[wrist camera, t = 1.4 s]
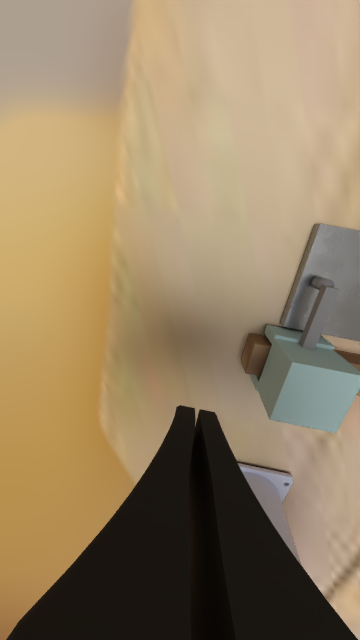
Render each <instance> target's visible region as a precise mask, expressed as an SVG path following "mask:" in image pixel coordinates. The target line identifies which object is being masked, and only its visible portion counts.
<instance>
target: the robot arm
mask: <svg viewBox="0 0 360 640" xmlns="http://www.w3.org/2000/svg"><path fill="white" fill-rule="evenodd" d="M292 483H293V478H292V475H291V474H288V473H283V472H278V471H274V470H269V469H264V468H259V467H254V466H249V465H245V464H240V463H237V461H236V459H235V457H234V455H233V453H232V451H231V448H230V446H229V444H228V442H227V440H226V437H225V435H224V433H223V431H222V428H221V426H220V423H219V421H218V418H217V415H216V414H215V412H211V411H206V410H201V409H200V410H199V414H198V418H197V422H196V426H195V408H191V407H186V406H181V405H180V406H178V407H177V408H176V413H175V417H174V419H173V422H172V424H171V427H170V429H169V431H168V433H167V435H166V437H165V439H164V441H163V443H162V445H161V447H160V448H159V450H158V452H157V453H156V455H155V457H154V458H153V460H152V462H151V463H150V465H149V467H148V468H147V470H146V471H145V473H144V474H143V476H142V477H141V479H140V480H139V482H138V483H137V485H136V486H135V487H134V489H133V490H132V492H131V493H130V494H129V496H128V497H127V498H126V500H125V501H124V502H123V504H122V505H121V506H120V508H119V509H118V510H117V512H116V513H115V514H114V515H113V517H112V518H111V519H110V521H109V522H108V523H107V524H106V525H105V527H104V528H103V529H102V530H101V531H100V533H99V534H98V535H97V536H96V537H95V538H94V540H93V541H92V542H91V543H90V544H89V545H88V547H87V548H86V549H85V550H84V551H83V552H82V554H81V555H80V556H79V557H78V558H77V559H76V561H75V562H74V563H73V564H72V565H71V566H70V568H68V570H67V571H66V572H65V573H64V574H63V575H62V576H61V577H60V578H59V579H58V580H57V582H55V583H54V585H53V586H52V587H51V588H50V589H49V590H48V591H47V592H46V593H45V594H44V595H43V596H42V597H41V599H39V600H38V602H37V603H36V604H35V605H34V606H33V607H32V608H31V609H30V610H29V611H28V612H27V613H26V614H25V615H24V616H23V618H22V619H21V620H20V621H19V622H18V623H17V625H16V627H15V628H14V629H13V631H12V632H11V634H10V635H9V637H8V638H7V639H6V640H358V639H357V638H356V637H355V635H354V634H353V633H352V632H351V630H350V629H349V628H348V627H347V625H346V624H345V623H344V622H343V620H342V619H341V618H340V616H339V615H338V614H337V613H336V611H335V610H334V609H333V607H332V606H331V605H330V604H329V602H328V601H327V600H326V599H325V597H324V596H323V594H322V593H321V592H320V590H319V589H318V588H317V586H316V585H315V583H314V582H313V581H312V579H311V578H310V577H309V575H308V574H307V572H306V571H305V570H304V568H303V567H302V566H301V563H300V560H299V556H298V553H297V550H296V547H295V544H294V540H293V537H292V534H291V531H290V528H289V524H288V521H287V518H286V515H285V512H284V508H283V505H282V503H283V501H284V499H285V497H286V495H287V493H288V491H289V489H290V487H291V485H292Z"/></svg>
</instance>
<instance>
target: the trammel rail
mask: <svg viewBox="0 0 360 640" xmlns="http://www.w3.org/2000/svg"><path fill="white" fill-rule="evenodd" d="M271 346H272V343H271V342H270V341H269V339H268V338H267V337H266V336H261V335H256V334H251V333H249V335H248V339H247V342H246V345H245V349H244V352H243V355H242V358H241V361H242V364H243V367H244V370H245V373H247V374H252V375H257V376H261V374H262V372H263V369H264V366H265V363H266V360H267V357H268V354H269V352H270V349H271ZM334 351H335V352H336V353H338V354H339V355H340V356H341V357H343V358H344V359H345V360H346V361H347V362H349V363H350V364H351V365H352V366H354V367H355V368H356V369H357V370H358V371H360V355H358V354H353V353H348V352H343V351H338V350H334ZM357 395H358V396H360V389H359V391H358V393H357Z"/></svg>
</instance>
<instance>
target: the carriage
mask: <svg viewBox="0 0 360 640" xmlns="http://www.w3.org/2000/svg"><path fill="white" fill-rule="evenodd" d="M311 284H312V287H313V288H315V289H317V290H319V292H318V295H317V297H316V300H315V303H314V305H313V308H312V310H311V313H310V315H309V318H308V320H307V323H306V325H305V328H304V330H303V332H302V331H297V330H292V329H287V328H282V327H277V326H272V325H267V326H266V329H265V332H264V333H265V335H266V336H267V338H268V339H269V341H270V342H271V343H272V346H271V349H270V352H269V354H268V357H267V360H266V363H265V366H264V369H263V372H262V374H261V376H257V375H252V374H250V376H251V378H252V381H253V384H254V386H255V389H256V390H258V391H259V394H260V396H261V399H262V401H263V404H264V407H265V409H266V412H267V414H268V417H269V419H270V420H274V421H279V422H284V423H288V424H293V425H298V426H303V427H308V428H313V429H318V430H323V431H328V432H333V433H336V432H337V430H338V428H339V426H340V425H341V423H342V421H343V419H344V417H345V415H346V413H347V412H348V410H349V408H350V406H351V404H352V402H353V400H354V398H355V397H356V395H357V393H358V391H359V389H360V371H358V370H357V369H356V368H355V367H354V366H352V365H351V364H350V363H349V362H347V361H346V360H345V359H344V358H343V357H341V356H340V355H339V354H338V353H336V352H335V351H334V350H333V349H334V347H335V346H333V345H332V344H331V343H330V342H328V341H327V340H326V339H324V338H323V337H322V336H321V333H322V331H323V329H324V326H325V324H326V322H327V319H328V317H329V315H330V312H331V310H332V308H333V305H334V303H335V301H336V298H337V296H338V294H339V291H340V289H337V288H334V285H335V284H334V282H333V281H332V280H330V279H326V278H323V277H316V278H314V279H313V280H312V283H311Z"/></svg>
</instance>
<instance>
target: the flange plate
mask: <svg viewBox="0 0 360 640" xmlns="http://www.w3.org/2000/svg"><path fill="white" fill-rule="evenodd" d="M316 277H323V278H326V279H330V280H332V281H333V282H334V284H335V285H334V288H337V289H340V291H339V294H338V296H337V298H336V301H335V303H334V305H333V308H332V310H331V312H330V315H329V317H328V319H327V322H326V324H325V326H324V329H323V331H322V333H321V334H325V335H330V336H335V337H340V338H345V339H350V340H355V341H360V231H357V230H352V229H347V228H341V227H336V226H331V225H325V224H315V225H314V227H313V230H312V233H311V236H310V239H309V241H308V244H307V247H306V250H305V253H304V256H303V259H302V261H301V264H300V267H299V270H298V273H297V276H296V278H295V281H294V284H293V287H292V290H291V293H290V296H289V298H288V301H287V304H286V307H285V310H284V313H283V315H282V318H281V321H280V323H281V324H282V325H283V326H284V327H289V328H294V329H299V330H304V328H305V325H306V323H307V320H308V318H309V315H310V313H311V310H312V308H313V305H314V303H315V300H316V297H317V295H318V292H319V290H317V289H315V288H313V287H312V284H311V283H312V280H313V279H314V278H316Z"/></svg>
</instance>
